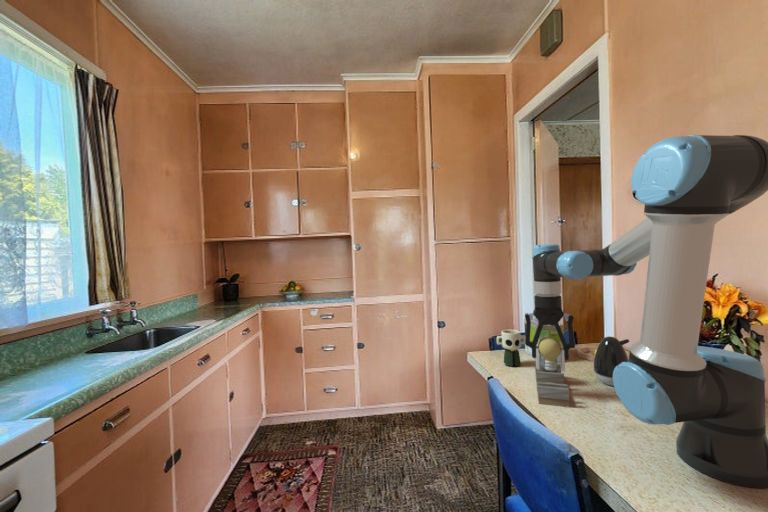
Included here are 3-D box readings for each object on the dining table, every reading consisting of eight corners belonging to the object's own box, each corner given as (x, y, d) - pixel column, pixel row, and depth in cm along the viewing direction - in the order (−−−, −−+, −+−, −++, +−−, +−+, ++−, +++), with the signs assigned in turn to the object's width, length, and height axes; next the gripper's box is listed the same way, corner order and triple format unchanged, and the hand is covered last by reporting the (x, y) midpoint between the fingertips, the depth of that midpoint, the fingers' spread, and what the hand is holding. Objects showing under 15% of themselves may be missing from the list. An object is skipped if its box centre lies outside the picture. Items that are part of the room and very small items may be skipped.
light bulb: (543, 364, 112) (542, 334, 111) (565, 369, 107) (563, 336, 107) (535, 370, 107) (534, 338, 107) (557, 375, 103) (556, 341, 102)
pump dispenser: (638, 389, 107) (637, 340, 107) (601, 388, 109) (599, 340, 109) (623, 377, 117) (621, 332, 117) (589, 376, 119) (587, 332, 119)
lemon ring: (623, 363, 131) (623, 357, 130) (580, 360, 136) (580, 355, 136) (614, 352, 144) (613, 347, 144) (575, 350, 149) (575, 345, 149)
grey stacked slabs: (569, 407, 98) (568, 372, 98) (538, 403, 101) (537, 369, 101) (560, 376, 120) (559, 348, 120) (535, 374, 123) (534, 346, 123)
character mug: (499, 368, 132) (498, 334, 132) (495, 361, 139) (494, 329, 139) (529, 367, 131) (528, 333, 130) (524, 361, 138) (522, 329, 137)
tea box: (565, 362, 135) (564, 324, 134) (539, 363, 135) (538, 325, 135) (548, 350, 150) (546, 316, 150) (524, 351, 150) (523, 317, 150)
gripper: (581, 293, 106) (584, 367, 107) (514, 292, 114) (516, 362, 114) (585, 296, 99) (588, 376, 100) (513, 296, 107) (516, 370, 107)
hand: (550, 368), depth 107 cm, fingers closed on light bulb, 6 cm apart
